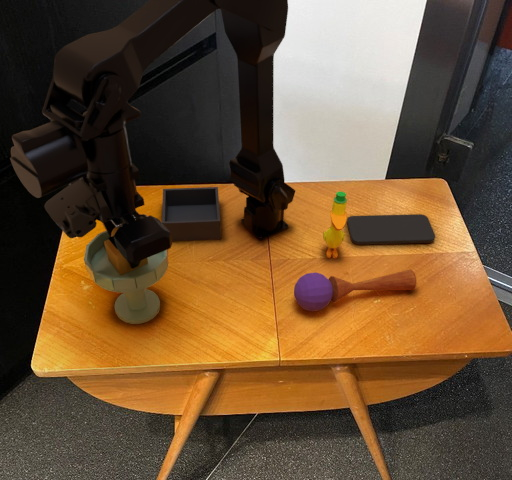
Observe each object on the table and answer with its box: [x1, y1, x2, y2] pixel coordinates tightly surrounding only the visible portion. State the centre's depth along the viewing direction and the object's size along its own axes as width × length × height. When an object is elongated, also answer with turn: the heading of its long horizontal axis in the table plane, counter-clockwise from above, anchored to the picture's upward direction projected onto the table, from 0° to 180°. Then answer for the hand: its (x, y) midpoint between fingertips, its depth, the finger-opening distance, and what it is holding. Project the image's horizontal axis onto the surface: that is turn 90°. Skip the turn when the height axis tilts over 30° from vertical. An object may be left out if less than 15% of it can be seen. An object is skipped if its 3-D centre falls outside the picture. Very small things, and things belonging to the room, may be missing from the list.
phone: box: [346, 213, 436, 245], centre depth 99 cm, size 7×1×15 cm
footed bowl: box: [83, 230, 170, 325], centre depth 81 cm, size 11×11×12 cm
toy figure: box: [322, 191, 348, 259], centre depth 90 cm, size 7×4×12 cm, turn 177°
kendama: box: [293, 269, 417, 312], centre depth 86 cm, size 6×6×20 cm
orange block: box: [104, 227, 148, 275], centre depth 76 cm, size 4×4×6 cm
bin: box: [161, 186, 222, 242], centre depth 98 cm, size 10×10×4 cm
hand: (127, 258), depth 78 cm, fingers closed on orange block, 4 cm apart
